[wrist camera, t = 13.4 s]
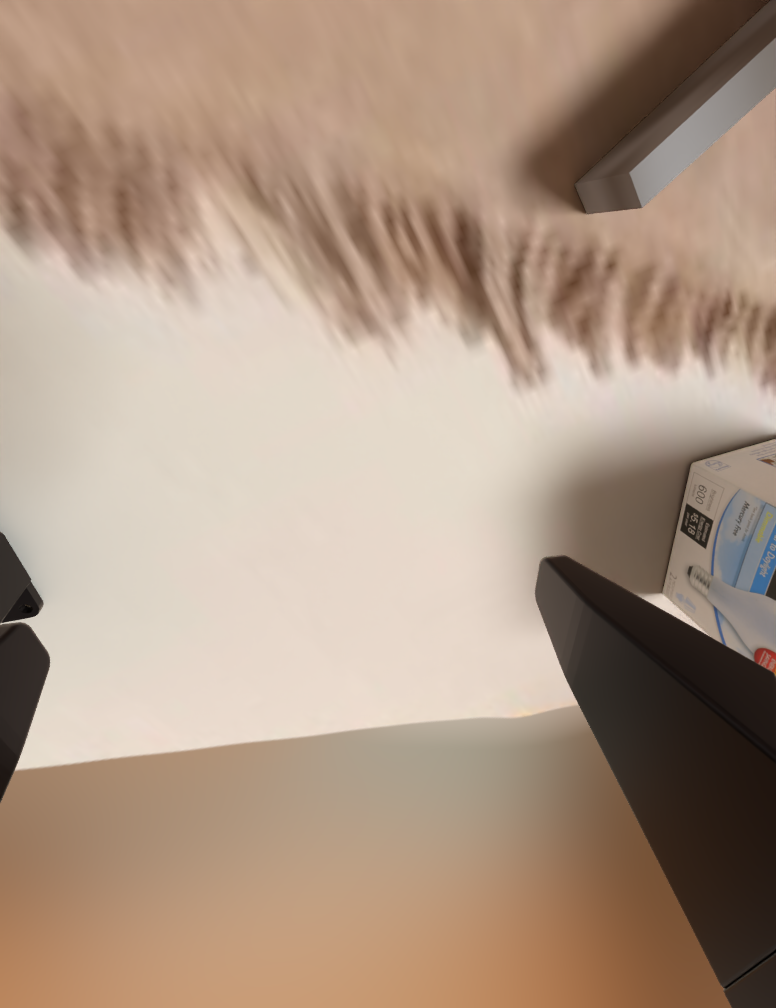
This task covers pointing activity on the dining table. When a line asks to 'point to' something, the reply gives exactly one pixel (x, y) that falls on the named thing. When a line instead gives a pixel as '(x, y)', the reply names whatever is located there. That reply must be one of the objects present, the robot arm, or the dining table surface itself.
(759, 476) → the light bulb box
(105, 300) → the dining table surface
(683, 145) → the nook
